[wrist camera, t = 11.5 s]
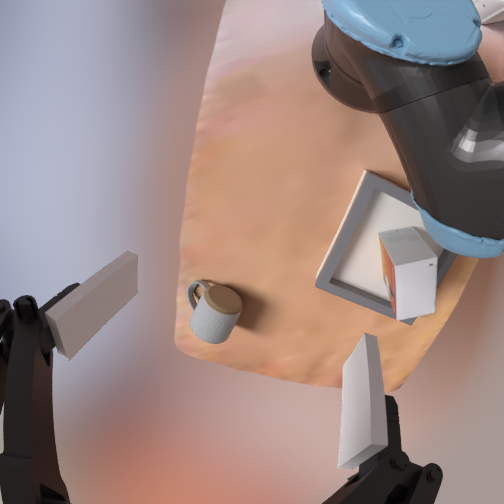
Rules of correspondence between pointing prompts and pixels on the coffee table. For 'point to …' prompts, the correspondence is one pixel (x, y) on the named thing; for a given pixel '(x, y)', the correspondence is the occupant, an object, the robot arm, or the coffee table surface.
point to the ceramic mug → (214, 312)
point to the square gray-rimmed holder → (372, 244)
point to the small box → (408, 272)
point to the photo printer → (490, 10)
